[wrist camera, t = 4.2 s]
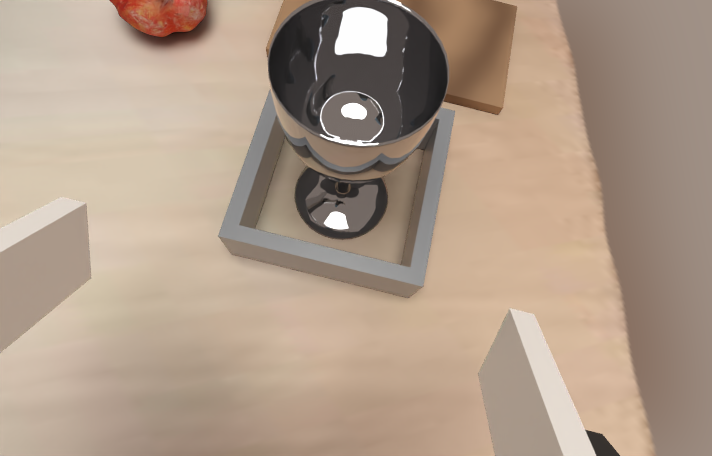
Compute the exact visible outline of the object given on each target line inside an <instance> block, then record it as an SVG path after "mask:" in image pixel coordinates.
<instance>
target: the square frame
mask: <svg viewBox="0 0 712 456" xmlns="http://www.w3.org/2000/svg"><path fill="white" fill-rule="evenodd" d="M454 115H455V111H453V110H449V109H445V108H441V107H440V109H439V112H438V114H437V116H436V118H435V120H434V122H433V124H432V126H431V128H430V129H429V131H428V133H427V135H426V136H425V138H424V139H423V140H422V142H421V143H420V145H419V146H418V147H417V148H418V149H422V150H424V154H423V159H422V164H421V169H420V174H419V179H418V183H417V188H416V193H415V198H414V203H413V208H412V213H411V218H410V223H409V228H408V233H407V238H406V242H405V247H404V252H403V257H402V262H401V265H398V264H394V263H390V262H386V261H382V260H378V259H374V258H370V257H366V256H362V255H358V254H354V253H350V252H346V251H342V250H338V249H334V248H330V247H326V246H321V245H317V244H313V243H309V242H305V241H301V240H297V239H293V238H289V237H285V236H281V235H277V234H273V233H269V232H265V231H261V230H257V229H255V227H256V224H257V221H258V218H259V215H260V212H261V209H262V206H263V203H264V200H265V196H266V193H267V190H268V187H269V184H270V181H271V178H272V175H273V172H274V169H275V166H276V163H277V160H278V157H279V154H280V151H281V147H282V144H283V141H284V138H285V134H284V132H283V130H282V127H281V125H280V123H279V121H278V117H277V114H276V110H275V106H274V102H273V98H272V94H271V89H270V91H269V93H268V96H267V99H266V102H265V105H264V108H263V110H262V113H261V116H260V119H259V122H258V125H257V127H256V130H255V133H254V136H253V139H252V142H251V144H250V147H249V150H248V153H247V156H246V158H245V161H244V164H243V167H242V170H241V173H240V175H239V178H238V181H237V184H236V187H235V190H234V192H233V195H232V198H231V201H230V204H229V206H228V209H227V212H226V215H225V218H224V221H223V223H222V226H221V229H220V232H219V235H218V237H219V238H220V239H221V241H222V242H223V243H224V245H225V246H226V247H227V249H228V250H229V251H230V252H231V254H233V255H237V256H241V257H245V258H249V259H253V260H257V261H261V262H265V263H269V264H273V265H277V266H281V267H285V268H289V269H293V270H297V271H301V272H306V273H310V274H314V275H318V276H322V277H326V278H330V279H334V280H338V281H342V282H346V283H350V284H354V285H358V286H362V287H366V288H370V289H374V290H378V291H382V292H386V293H391V294H395V295H399V296H403V297H407V298H409V297H410V296H412V295H413V294H414V293H416V292H417V291H418V290H419V289H421V288H422V287H423V284H424V279H425V273H426V268H427V262H428V257H429V251H430V246H431V240H432V235H433V229H434V224H435V219H436V213H437V208H438V202H439V197H440V191H441V186H442V180H443V175H444V169H445V164H446V158H447V153H448V147H449V142H450V136H451V131H452V126H453V120H454Z"/></svg>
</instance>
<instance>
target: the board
mask: <svg viewBox="0 0 712 456" xmlns="http://www.w3.org/2000/svg"><path fill="white" fill-rule="evenodd" d="M309 1H311V0H284V1H283V4H282V6H281V9H280V12H279V14H278V17H277V20H276V23H275V25H274V28H273V31H272V33H271V36H270V39H269V41H268V44H267V47H266V52H267V57H268V54H269V48H270V44H271V42H272V39H273V37H274V34H275V32H276V31H277V29H278V28H279V26H280V25H281V23H282V22H283V21H284V20H285V19H286V18H287V17H288V16H289V15H290V13H291V12H293V11H294V10H296V9H297V8H298V7H300V6H301V5H303V4H305V3H307V2H309ZM395 1H398V2H400V3H402V4H404V5H405V6H407V7H409V8H410V9H412V10H414V11H415V12H416V13H418V14H419V15H420V16H421V17H422V18H424V19H425V20H426V21H427V22H428V24H429V25H430V26H431V27H432V28H433V29H434V30H435V32H436V33H437V35H438V37H439V38H440V40H441V41H442V44H443V46H444V49H445V51H446V53H447V58H448V63H449V83H448V88H447V93H446V95H445V98H444V100H443V101H446V102H450V103H454V104H458V105H462V106H466V107H470V108H474V109H478V110H482V111H486V112H489V113H493V114H497V115H498V114H499V112H500V111H501V110H502V108H503V103H504V96H505V88H506V81H507V74H508V67H509V60H510V53H511V46H512V39H513V32H514V25H515V18H516V10H517V6H513V5H509V4H505V3H502V2H498V1H494V0H395Z"/></svg>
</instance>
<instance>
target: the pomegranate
mask: <svg viewBox="0 0 712 456" xmlns="http://www.w3.org/2000/svg"><path fill="white" fill-rule="evenodd" d="M110 1H111V2H112V3H113V4H114V6H115V7H116V9H117V11H118V13H119V16H120V17H122V18H123V19H124V20H125V21H126V22H128V23H129V24H130V25H131V26H133V27H134V28H136V29H138V30H140V31H142V32H144V33H147V34H149V35H153V36H159V37H164V36H167V35H169V34H171V33H173V32H187V31H191V30H193V29H194V28H195V27H196V26H197V25H198V23H200V22H201V21H202V20H203V18H204V16H205V15H206V8H207V0H110Z"/></svg>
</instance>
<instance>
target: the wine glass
mask: <svg viewBox="0 0 712 456" xmlns="http://www.w3.org/2000/svg"><path fill="white" fill-rule="evenodd" d="M268 73H269V82H270V89H271V94H272V98H273V102H274V106H275V110H276V114H277V117H278V121H279V123H280V125H281V127H282V130H283V132H284V134H285V136H286V138H287V140H288V142H289V144H290V145H291V147H292V148H293V150H294V151H295V153H296V154H297V155H298V157H299V158H300V159H301V160H302V161H303V162H304V163H305V164H306V165H307V167H306V168H305V169H304V170H303V172H302V173H301V175H300V176H299V178H298V181H297V184H296V188H295V203H296V207H297V210H298V212H299V214H300V216H301V218H302V219H303V220H304V222H305V223H306V224H307V225H308V226H309V227H310V228H311V229H313V230H314V231H315V232H317V233H319V234H321V235H323V236H325V237H329V238H333V239H341V240H343V239H352V238H356V237H359V236H362V235H364V234H366V233H368V232H369V231H371V230H372V229H373V228H374V227H375V226H376V225H377V224H378V223H379V222H380V220H381V219H382V218H383V216H384V213H385V211H386V208H387V204H388V192H387V187H386V183H385V181H384V179H383V176H385V175H387V174H389V173H390V172H392V171H393V170H395V169H396V168H397V167H398V166H400V165H401V164H402V163H403V162H404V161H405V160H406V159H407V158H408V157H409V156H410V155H411V154H412V153H413V152H414V151H415V150H416V148H417V147H418V146H419V145H420V143H421V142H422V140H423V139H424V138H425V136H426V135H427V133H428V131H429V129H430V128H431V126H432V124H433V122H434V120H435V118H436V116H437V114H438V112H439V109H440V107H441V105H442V103H443V100H444V98H445V95H446V93H447V88H448V83H449V63H448V58H447V53H446V51H445V49H444V46H443V44H442V41H441V40H440V38H439V37H438V35H437V33H436V32H435V30H434V29H433V28H432V27H431V26H430V25H429V24H428V22H427V21H426V20H425V19H424V18H422V17H421V16H420V15H419V14H418V13H416V12H415V11H414V10H412V9H410V8H409V7H407V6H405V5H404V4H402V3H400V2H398V1H395V0H311V1H309V2H307V3H305V4H303V5H301V6H300V7H298V8H297V9H296V10H294V11H293V12H291V13H290V15H289V16H288V17H287V18H286V19H285V20H284V21H283V22H282V23H281V25H280V26H279V28H278V29H277V31H276V32H275V34H274V37H273V39H272V42H271V44H270V48H269V54H268Z"/></svg>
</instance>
